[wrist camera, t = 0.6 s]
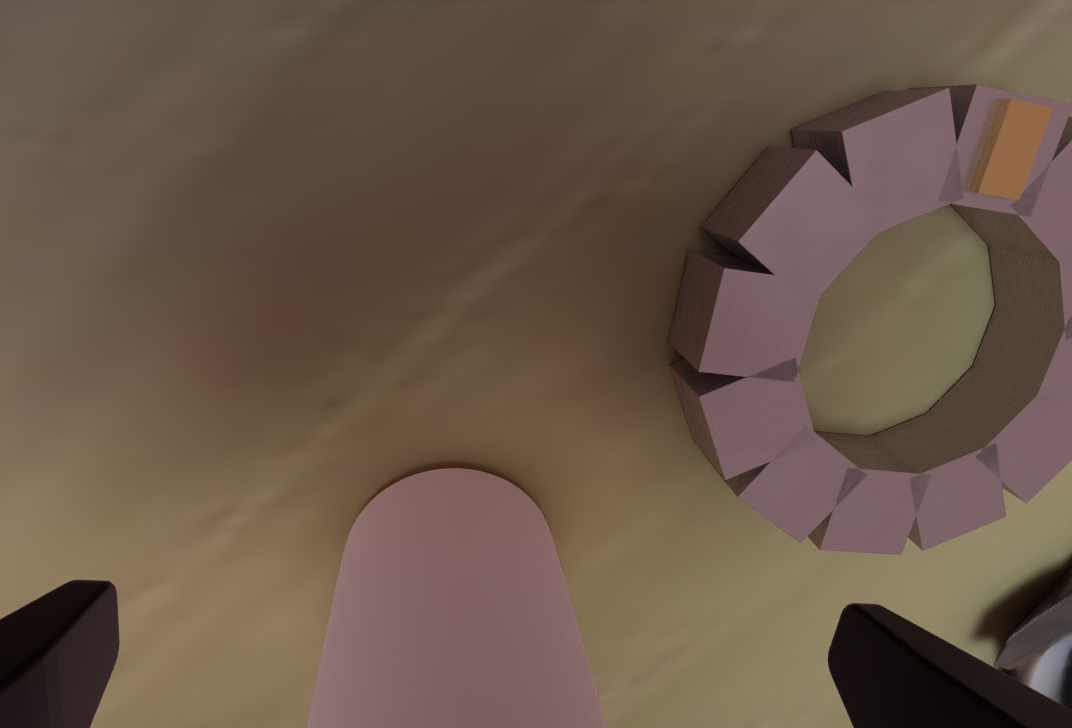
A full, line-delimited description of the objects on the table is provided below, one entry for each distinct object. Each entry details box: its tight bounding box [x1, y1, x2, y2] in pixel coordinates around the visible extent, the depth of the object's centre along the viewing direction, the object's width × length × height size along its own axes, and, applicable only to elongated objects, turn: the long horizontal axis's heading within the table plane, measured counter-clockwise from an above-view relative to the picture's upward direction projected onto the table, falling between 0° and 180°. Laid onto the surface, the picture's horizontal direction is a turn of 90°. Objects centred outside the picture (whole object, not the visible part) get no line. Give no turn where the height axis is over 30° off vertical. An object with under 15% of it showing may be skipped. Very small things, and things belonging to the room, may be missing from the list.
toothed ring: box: [668, 84, 1072, 555], centre depth 20 cm, size 13×13×3 cm
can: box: [306, 468, 607, 728], centre depth 16 cm, size 6×6×12 cm
